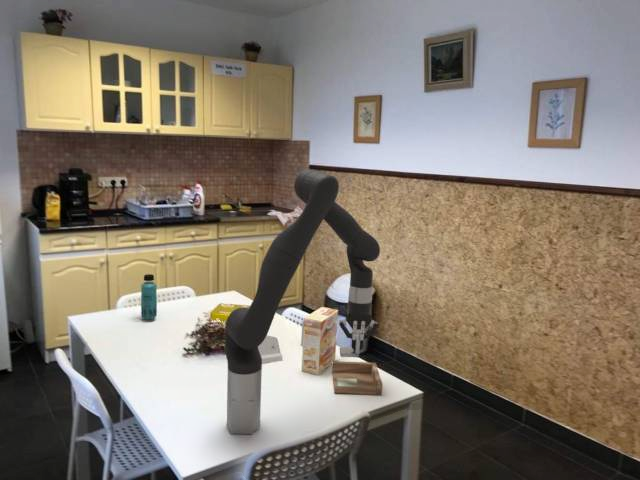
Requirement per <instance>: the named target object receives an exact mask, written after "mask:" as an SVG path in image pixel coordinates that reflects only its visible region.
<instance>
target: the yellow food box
mask: <svg viewBox="0 0 640 480" xmlns="http://www.w3.org/2000/svg"><path fill="white" fill-rule="evenodd" d="M250 306H251V305H245V304H233V303H222V302H221V303H219V304H217V306H215V307H214V308H213V309H212V310H211V311H210V312H209V313H210V315H209V317H210V318H211V319H212V320H213V321H214V320H216V318H219V320H220V321H221V322H222V321H223V322H224V321H227V318H228V316H229V315H230V313H231V312H232V311H234V310H235V309H238V308H248V309H249V307H250ZM210 318H209V319H210Z"/></svg>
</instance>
